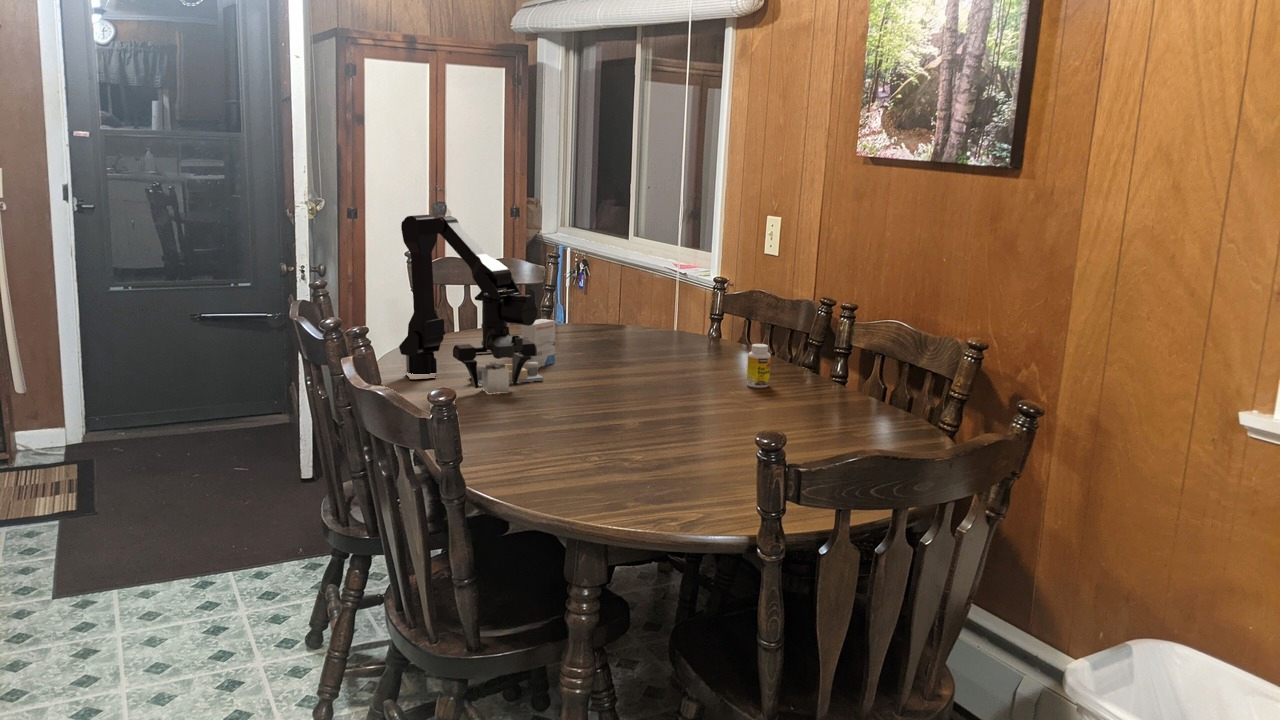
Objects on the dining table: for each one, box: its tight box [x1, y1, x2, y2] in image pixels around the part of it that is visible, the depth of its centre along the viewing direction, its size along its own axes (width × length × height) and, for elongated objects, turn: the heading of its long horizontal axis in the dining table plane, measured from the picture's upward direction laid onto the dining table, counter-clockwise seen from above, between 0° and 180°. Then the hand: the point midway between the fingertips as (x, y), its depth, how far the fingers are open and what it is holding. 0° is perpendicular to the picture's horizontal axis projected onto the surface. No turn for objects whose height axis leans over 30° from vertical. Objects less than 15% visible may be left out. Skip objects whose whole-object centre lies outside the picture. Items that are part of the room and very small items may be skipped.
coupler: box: [481, 362, 510, 393], centre depth 233 cm, size 5×5×7 cm
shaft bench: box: [476, 362, 544, 384], centre depth 246 cm, size 16×9×4 cm, turn 115°
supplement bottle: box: [746, 343, 772, 389], centre depth 245 cm, size 6×6×10 cm
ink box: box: [520, 318, 556, 367], centre depth 262 cm, size 9×5×12 cm, turn 143°
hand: (495, 386), depth 234 cm, fingers open, 9 cm apart
